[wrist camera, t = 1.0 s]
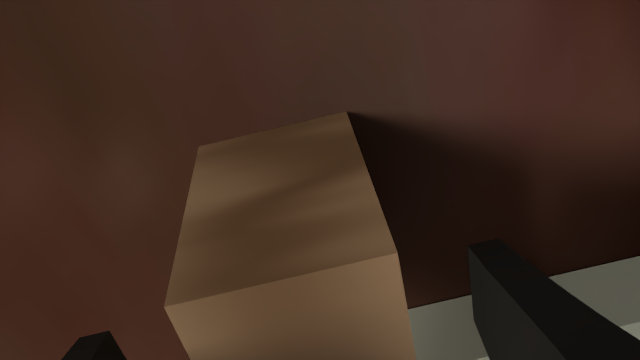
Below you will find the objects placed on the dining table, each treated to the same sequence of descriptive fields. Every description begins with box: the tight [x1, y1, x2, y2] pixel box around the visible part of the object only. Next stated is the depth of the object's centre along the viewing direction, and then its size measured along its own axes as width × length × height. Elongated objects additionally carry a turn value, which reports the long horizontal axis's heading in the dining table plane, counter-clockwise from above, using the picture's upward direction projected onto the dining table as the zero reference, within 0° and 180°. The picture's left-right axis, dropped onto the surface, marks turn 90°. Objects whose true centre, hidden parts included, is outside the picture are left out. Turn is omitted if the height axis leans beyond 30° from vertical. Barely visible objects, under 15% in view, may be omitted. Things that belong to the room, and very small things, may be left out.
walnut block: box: [164, 111, 416, 360], centre depth 12 cm, size 4×4×6 cm
